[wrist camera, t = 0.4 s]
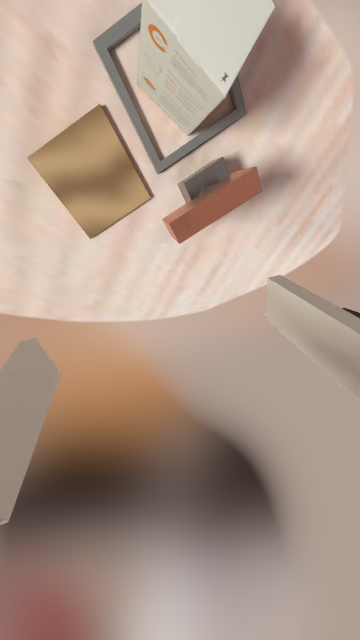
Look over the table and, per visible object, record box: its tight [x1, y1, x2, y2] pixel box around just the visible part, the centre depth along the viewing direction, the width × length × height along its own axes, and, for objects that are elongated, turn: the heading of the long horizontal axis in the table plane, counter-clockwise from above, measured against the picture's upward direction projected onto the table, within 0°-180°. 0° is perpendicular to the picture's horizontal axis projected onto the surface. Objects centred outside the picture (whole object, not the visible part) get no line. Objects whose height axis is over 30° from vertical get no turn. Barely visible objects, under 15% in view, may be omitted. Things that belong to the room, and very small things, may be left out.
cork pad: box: [27, 104, 151, 239], centre depth 28 cm, size 11×11×1 cm
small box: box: [137, 0, 276, 135], centre depth 20 cm, size 8×6×13 cm
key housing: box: [178, 157, 229, 203], centre depth 30 cm, size 6×6×4 cm
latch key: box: [162, 167, 262, 244], centre depth 25 cm, size 2×10×8 cm, turn 119°
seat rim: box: [93, 3, 246, 174], centre depth 25 cm, size 13×14×1 cm
